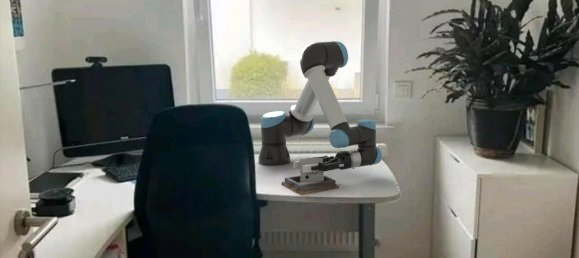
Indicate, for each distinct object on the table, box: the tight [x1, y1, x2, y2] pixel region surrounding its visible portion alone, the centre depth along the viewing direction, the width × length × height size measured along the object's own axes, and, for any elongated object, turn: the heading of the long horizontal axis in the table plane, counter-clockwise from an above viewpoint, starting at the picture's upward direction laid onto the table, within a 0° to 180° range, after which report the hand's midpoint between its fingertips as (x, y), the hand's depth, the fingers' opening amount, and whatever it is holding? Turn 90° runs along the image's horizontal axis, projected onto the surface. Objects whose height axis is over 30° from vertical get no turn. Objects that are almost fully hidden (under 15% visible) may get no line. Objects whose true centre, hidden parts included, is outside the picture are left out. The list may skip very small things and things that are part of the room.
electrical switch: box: [298, 157, 325, 182], centre depth 223 cm, size 9×5×9 cm, turn 93°
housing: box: [281, 174, 340, 196], centre depth 224 cm, size 17×17×3 cm
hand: (298, 167), depth 221 cm, fingers closed on electrical switch, 7 cm apart
